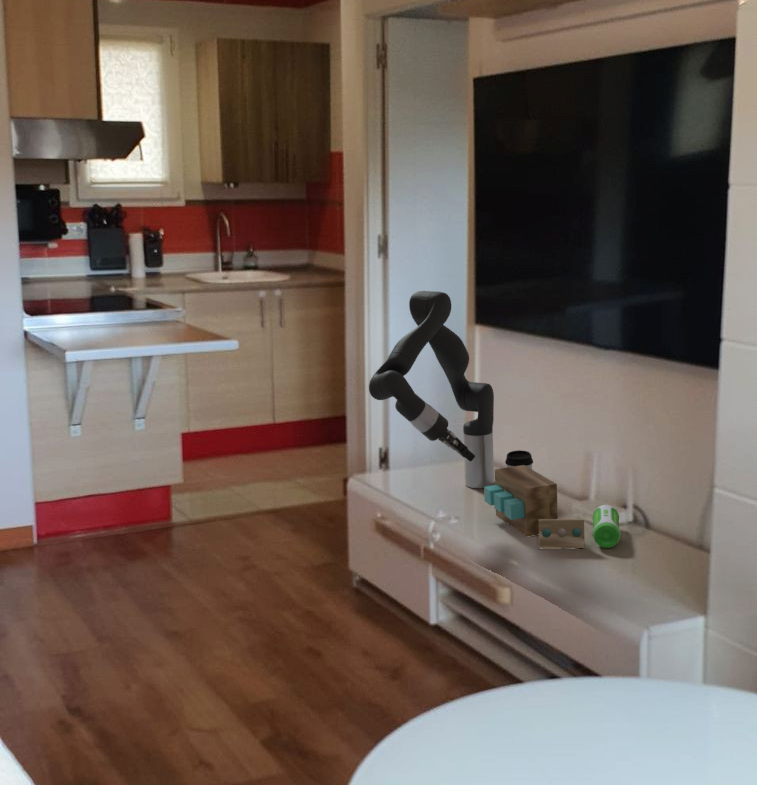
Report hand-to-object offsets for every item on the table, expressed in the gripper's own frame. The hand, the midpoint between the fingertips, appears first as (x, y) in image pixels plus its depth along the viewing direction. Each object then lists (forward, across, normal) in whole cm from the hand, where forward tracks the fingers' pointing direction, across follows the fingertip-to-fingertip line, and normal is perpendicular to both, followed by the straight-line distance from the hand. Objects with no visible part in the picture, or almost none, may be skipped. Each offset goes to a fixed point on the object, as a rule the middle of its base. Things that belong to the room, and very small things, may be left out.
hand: (469, 456), depth 333 cm
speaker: (+34, -28, -5) cm, 45 cm away
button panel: (+24, -7, +4) cm, 25 cm away
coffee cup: (+29, +12, 0) cm, 31 cm away
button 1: (+16, 0, +5) cm, 17 cm away
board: (+24, -28, +4) cm, 37 cm away
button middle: (+16, -7, +5) cm, 18 cm away
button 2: (+16, -14, +5) cm, 22 cm away
